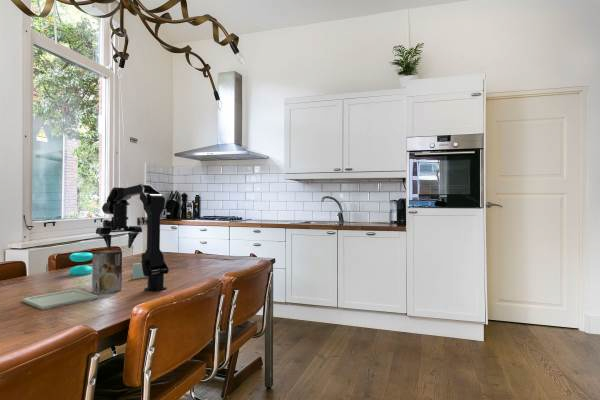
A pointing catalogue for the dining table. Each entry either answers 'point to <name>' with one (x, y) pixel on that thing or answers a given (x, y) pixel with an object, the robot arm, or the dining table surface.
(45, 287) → the dining table surface
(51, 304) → the sage tray
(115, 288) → the coffee box
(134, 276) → the right angle wall
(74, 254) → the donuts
